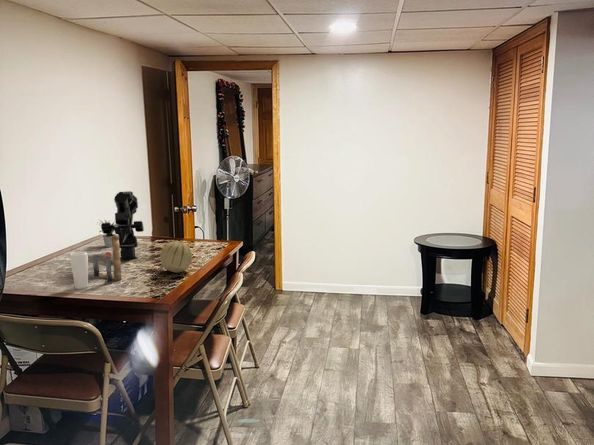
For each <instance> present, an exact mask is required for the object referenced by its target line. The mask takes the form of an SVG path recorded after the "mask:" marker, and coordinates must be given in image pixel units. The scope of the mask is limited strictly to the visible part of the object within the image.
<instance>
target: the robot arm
mask: <svg viewBox="0 0 594 445" xmlns="http://www.w3.org/2000/svg"><path fill="white" fill-rule="evenodd" d="M113 200H114V203H115V207H116V208H117V209H116V212H115V213H114V221H115V222H114V225H112V226H111V224H112V223H111V222H109V223H105V222H103V223H102V222H101V224H100V230H101V232H102V233H103V235H105V234H109V233H111V232H112V230H114V232H115V233H114V234H115V235H117V236H118V237H119V249H120V260H123V261H131V260H135V259H137V258H138V256H136V248H137V247H138V246H139V245H138V239H137V237H136V235H135V232H137V233H139V232H142V233H143V232H144V227H145V226H144V223H143V221H142V220H137V221H136V220H134V215H135V213H137V210H138V208H139V202H138V197H136V196H135V195H134V193H133V191H119V192H117V193H116V194H115V195H114V199H113ZM133 220H134V221H133ZM134 229H135V231H134Z"/></svg>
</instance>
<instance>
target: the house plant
mask: <svg viewBox="0 0 594 445" xmlns="http://www.w3.org/2000/svg"><path fill="white" fill-rule="evenodd" d="M102 223H110V221H107V220H106V219H104V222H103V221H102V220H100V219H99V222H97V224H98V225H99V226H101V225H102ZM110 224H111V226H112V225H114V224H115V220H114V221H113V222H112V223H110ZM101 232H102V230H99V232H98V233H99V234H100V233H101ZM114 235H116V234H115V231H114V230H112V232H111V233H109V234H103V235H102V239H103V242H104V247H106V248H112V240H111V238H112V236H114Z"/></svg>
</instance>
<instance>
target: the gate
mask: <svg viewBox="0 0 594 445" xmlns="http://www.w3.org/2000/svg"><path fill="white" fill-rule="evenodd" d="M111 240H112V247H111V248H112V250H111V251H112V262H113V264H112V266H113V273H112V280H113V281H120V280H122V270H121V268H122V267H121V265H122V264H121V259H120V258H121V252H120V251H121V248H119V237H118V234H115V235H114V236H112V238H111ZM99 277H100V278H105V279H107V272H105V273H104V272H99Z"/></svg>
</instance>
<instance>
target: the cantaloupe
mask: <svg viewBox="0 0 594 445" xmlns="http://www.w3.org/2000/svg"><path fill="white" fill-rule="evenodd" d="M159 259H160V263H161V264H160V265H161V266H162V267H163V268H164V269H165V270H167V271H170V272H171V273H182V272H185V271H186V270H188V269H189V267H190V266H191V265H192V262H193V250H191V247H190V246H189V245H187V244H186V243H184V242H183V240H181V239H180V241H177V240H176V241H175V240H174V241H170V242H168V243H167V244H166V245H164V247H163V248H162V250H161V252H160V255H159Z"/></svg>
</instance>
